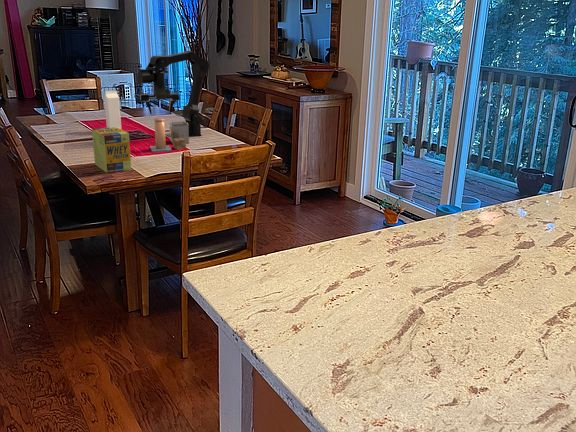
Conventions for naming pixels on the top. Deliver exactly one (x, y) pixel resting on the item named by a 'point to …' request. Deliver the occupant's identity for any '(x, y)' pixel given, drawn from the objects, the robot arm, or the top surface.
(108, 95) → the milk
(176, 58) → the robot arm
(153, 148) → the pad
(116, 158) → the protein box
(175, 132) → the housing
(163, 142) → the canister
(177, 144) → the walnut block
